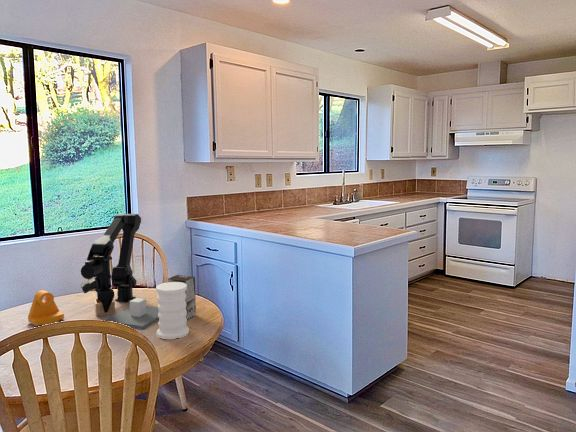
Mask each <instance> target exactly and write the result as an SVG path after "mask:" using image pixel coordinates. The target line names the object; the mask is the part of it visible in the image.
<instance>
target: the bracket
mask: <svg viewBox="0 0 576 432" xmlns="http://www.w3.org/2000/svg"><path fill="white" fill-rule="evenodd" d="M44 297H45V298H44ZM27 319H28V322H29V323H30V324H32V325H33V326H36V327H37V326H42V325H45V324H49V323H53V324H55V323H54V322H57V323H59V321H60V320H63V319H65V313H64V312H62V311H60V310H59V308H58V306H57V304H56V302H55V296H54V295H53V294H52V293H51V292H49V291H47V290H44V289H41V290H38V291H37V292H36V293H35V294H34V296H33V300H32V303H31V306H30V309H29V312H28V315H27ZM49 325H50V324H49ZM45 326H46V325H45Z"/></svg>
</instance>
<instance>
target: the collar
mask: <svg viewBox="0 0 576 432" xmlns="http://www.w3.org/2000/svg"><path fill="white" fill-rule="evenodd" d="M93 302H94V303H93V304H94V313H95V317H99V316H105V315H106V316H107V315H114V314H116V303H115V298H113V300H112V302H111V305H110V307H109V310H108V312H107V313H105V312H104V309H103V305H102V302H101V301H100V300H98V298H94V300H93Z"/></svg>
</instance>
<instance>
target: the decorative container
mask: <svg viewBox="0 0 576 432" xmlns="http://www.w3.org/2000/svg"><path fill="white" fill-rule="evenodd" d="M186 290H187V284H185V283H182V282H168V281H167V282H163V283H160V284H158V285H156V287H155V291H156V293H157V301H158V304H157V307H158V309H159V313H158V317H159V320H158V323H157V325H158V327H159V328H158V329H157V330H156V337H157V336H158V337H159V338H158V337H157V338H158V339H160V338H162V339H161V340H163V339H175V338H180V337H183V336H185V335H187V334H188V333H189V334H190V328H189V326H187V323H188V320H187V319H186V314H187V312H186V305H187V304H186V302H185V299H186V293H185V291H186ZM189 334H188V335H189ZM188 335H187V336H188ZM185 337H186V336H185ZM183 338H184V337H183ZM180 339H181V338H180Z"/></svg>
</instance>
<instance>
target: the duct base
mask: <svg viewBox="0 0 576 432" xmlns="http://www.w3.org/2000/svg"><path fill="white" fill-rule="evenodd" d="M158 313H159V309H158V306H151V305H147V300H146V298H140V297H136V298H134V299H132V300H130V301H129V306H128V307H126V308H124V309H122V310H120V311H119V312H117V313H114V314H112V315H111V316H109V317H107V318H105V319H104V320H105V321H113V322H117V323H121V324H124V325H127V326H130V327H132V329H138V330H144V329H145V328H147V327H149V326H150V325H152V324H154V323H155V322H157V321H159V320H158V319H159V317H158ZM153 322H154V323H153ZM148 325H149V326H148ZM130 327H129V328H130Z"/></svg>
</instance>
